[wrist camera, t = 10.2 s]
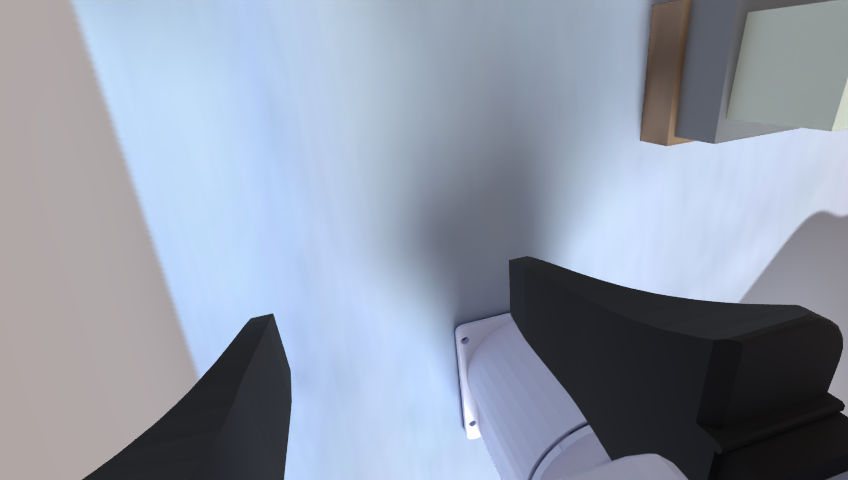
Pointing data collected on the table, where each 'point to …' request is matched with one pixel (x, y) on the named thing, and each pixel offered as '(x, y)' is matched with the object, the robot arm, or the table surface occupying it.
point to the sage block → (794, 67)
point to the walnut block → (665, 72)
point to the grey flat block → (718, 70)
